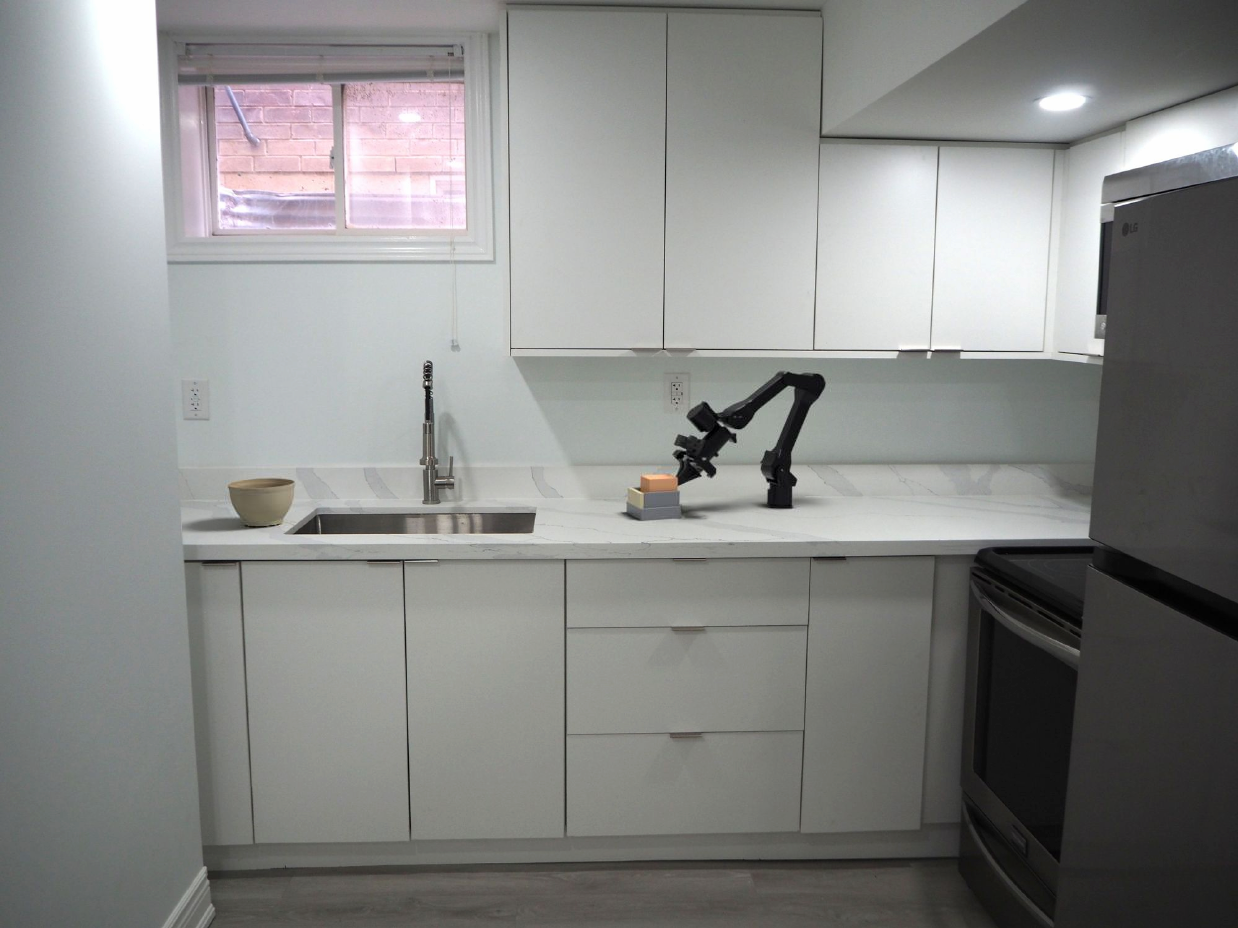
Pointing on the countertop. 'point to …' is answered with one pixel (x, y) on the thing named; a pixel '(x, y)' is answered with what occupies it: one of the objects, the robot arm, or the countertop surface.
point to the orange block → (658, 483)
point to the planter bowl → (262, 500)
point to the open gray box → (653, 504)
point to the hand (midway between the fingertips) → (673, 485)
